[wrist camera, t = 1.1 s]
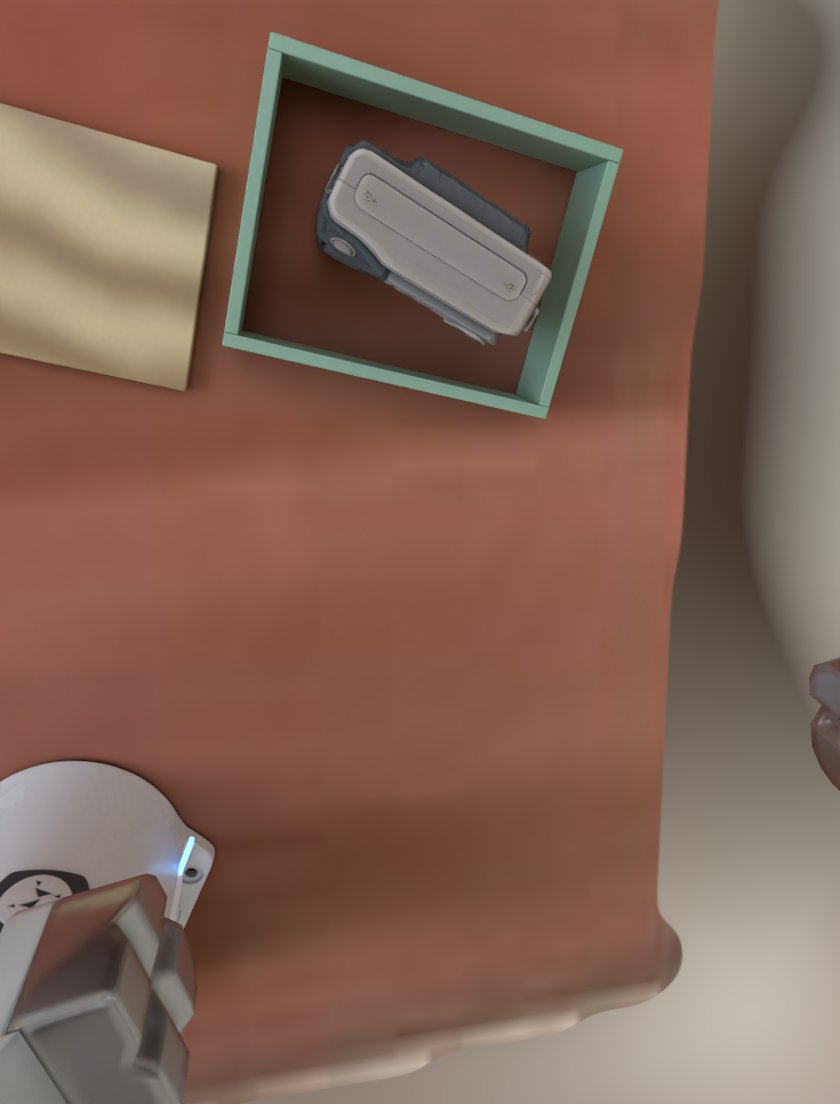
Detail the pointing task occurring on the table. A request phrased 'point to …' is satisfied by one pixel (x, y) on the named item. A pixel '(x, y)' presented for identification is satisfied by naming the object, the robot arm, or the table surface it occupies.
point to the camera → (431, 242)
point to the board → (100, 249)
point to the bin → (460, 117)
